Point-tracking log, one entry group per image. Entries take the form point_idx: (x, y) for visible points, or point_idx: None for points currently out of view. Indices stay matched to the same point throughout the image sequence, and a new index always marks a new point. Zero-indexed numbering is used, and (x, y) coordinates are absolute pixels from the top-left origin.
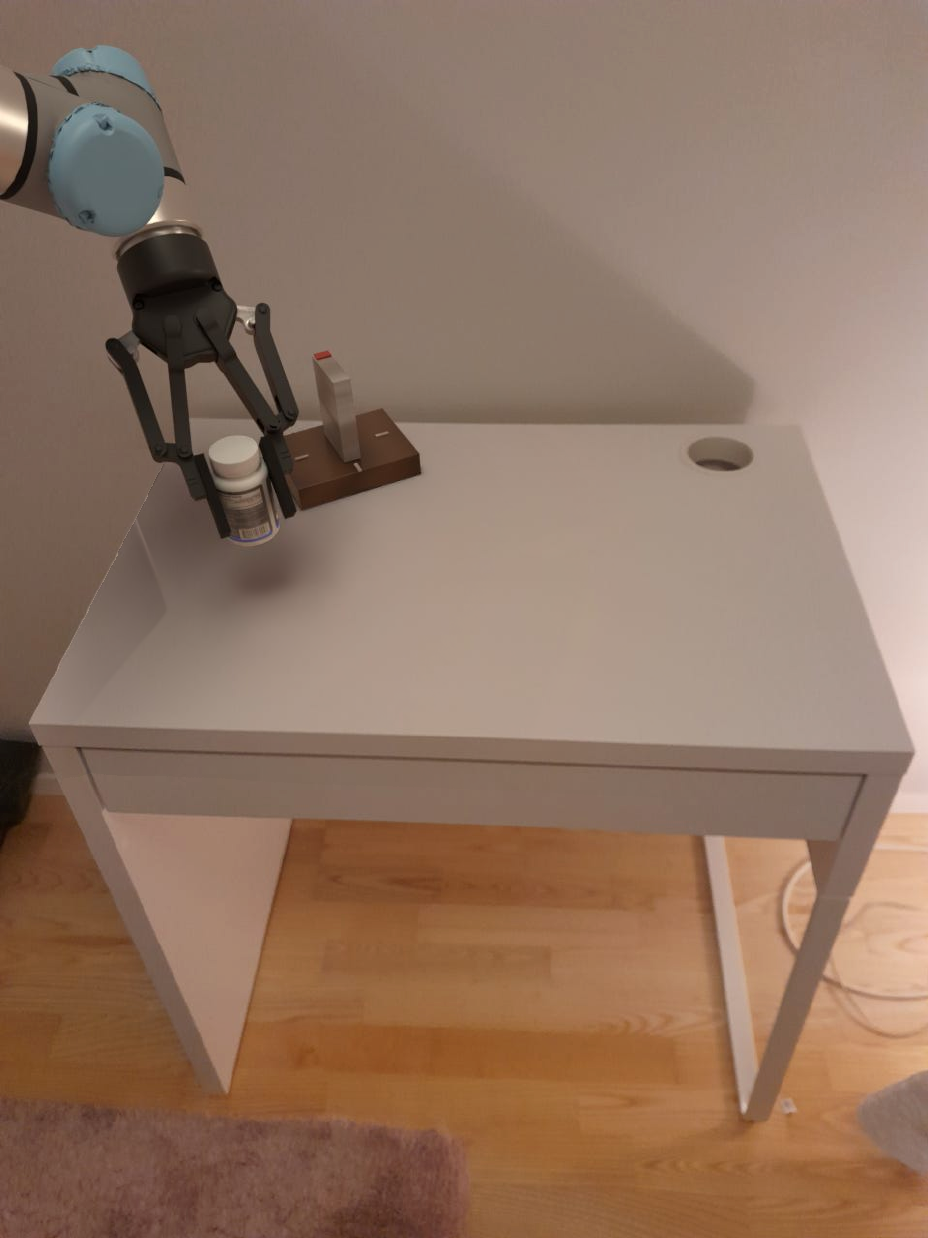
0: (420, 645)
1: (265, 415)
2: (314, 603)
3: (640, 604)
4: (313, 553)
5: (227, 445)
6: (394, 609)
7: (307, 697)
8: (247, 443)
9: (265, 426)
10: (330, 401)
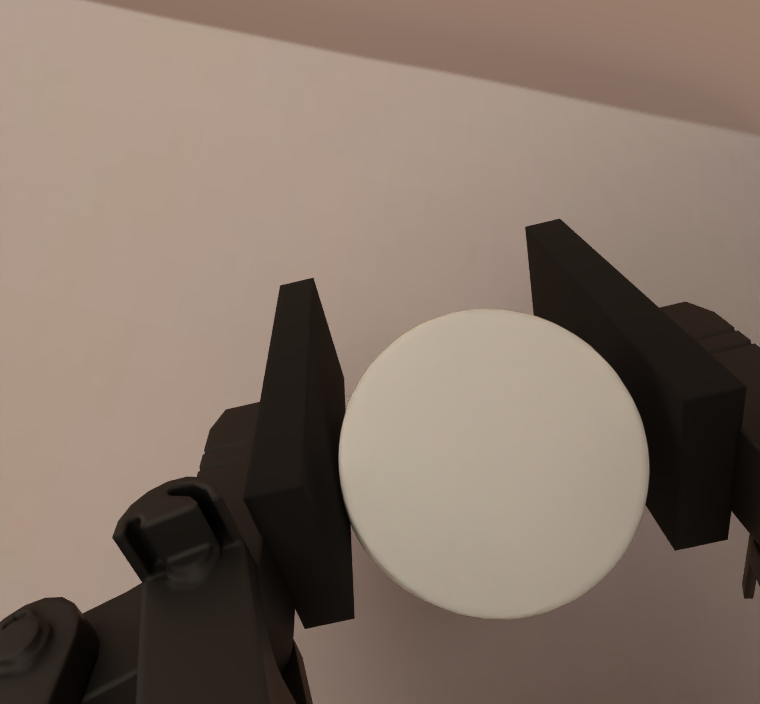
0: (172, 209)
1: (207, 626)
2: (352, 379)
3: None
4: None
5: (524, 499)
6: (192, 318)
7: (399, 129)
8: (397, 491)
9: (245, 550)
10: None
